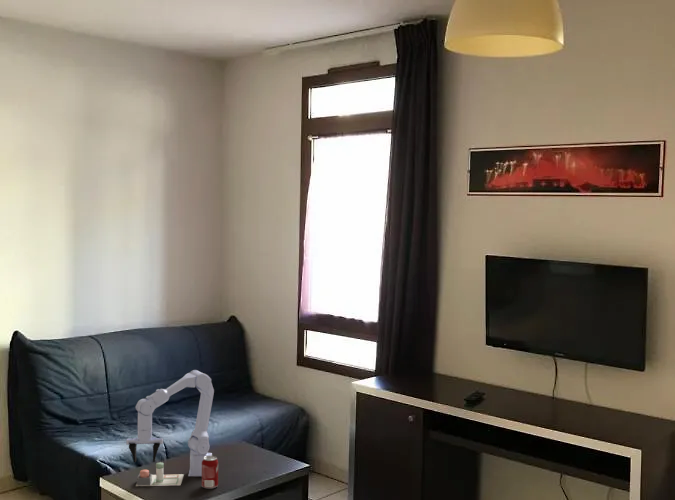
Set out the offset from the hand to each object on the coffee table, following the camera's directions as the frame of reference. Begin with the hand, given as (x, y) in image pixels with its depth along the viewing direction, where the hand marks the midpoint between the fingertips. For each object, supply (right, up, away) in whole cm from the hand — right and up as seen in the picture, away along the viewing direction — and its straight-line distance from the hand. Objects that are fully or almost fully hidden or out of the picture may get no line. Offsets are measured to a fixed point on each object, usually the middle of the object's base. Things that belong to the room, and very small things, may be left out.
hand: (144, 461), depth 313 cm
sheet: (+5, -9, +4) cm, 12 cm away
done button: (0, -8, 0) cm, 8 cm away
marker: (+6, -9, +2) cm, 11 cm away
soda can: (+27, -10, -2) cm, 29 cm away
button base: (0, -9, 0) cm, 9 cm away
